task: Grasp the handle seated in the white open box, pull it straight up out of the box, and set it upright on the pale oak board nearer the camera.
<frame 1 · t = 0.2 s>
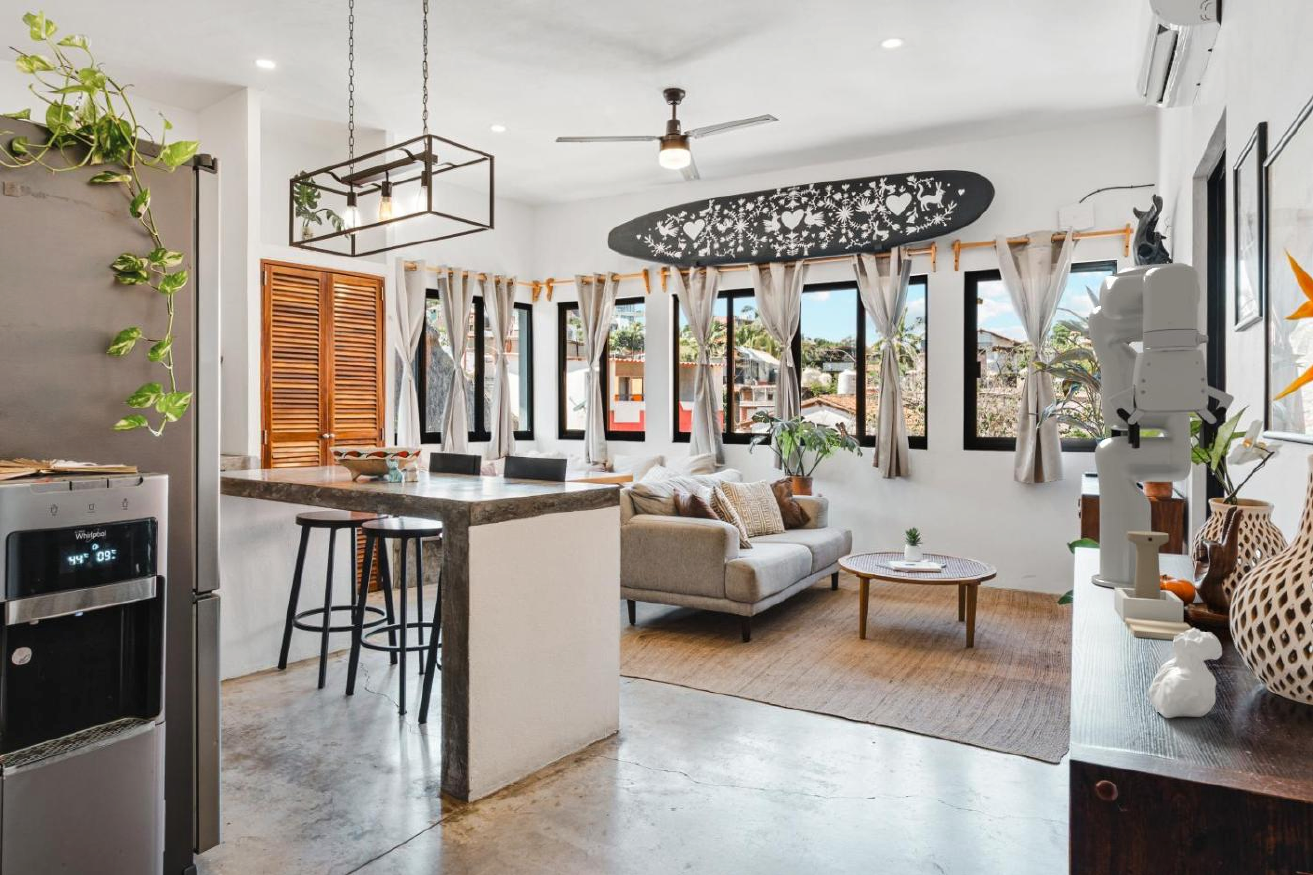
hand: (1169, 448, 132), 31 cm above the sideboard, tool pointing down, fingers open, 9 cm apart
white open box: (1147, 616, 145), on the sideboard
handle: (1147, 617, 145), resting in white open box
oak board: (1160, 632, 134), on the sideboard
white tied sack: (1184, 714, 98), on the sideboard
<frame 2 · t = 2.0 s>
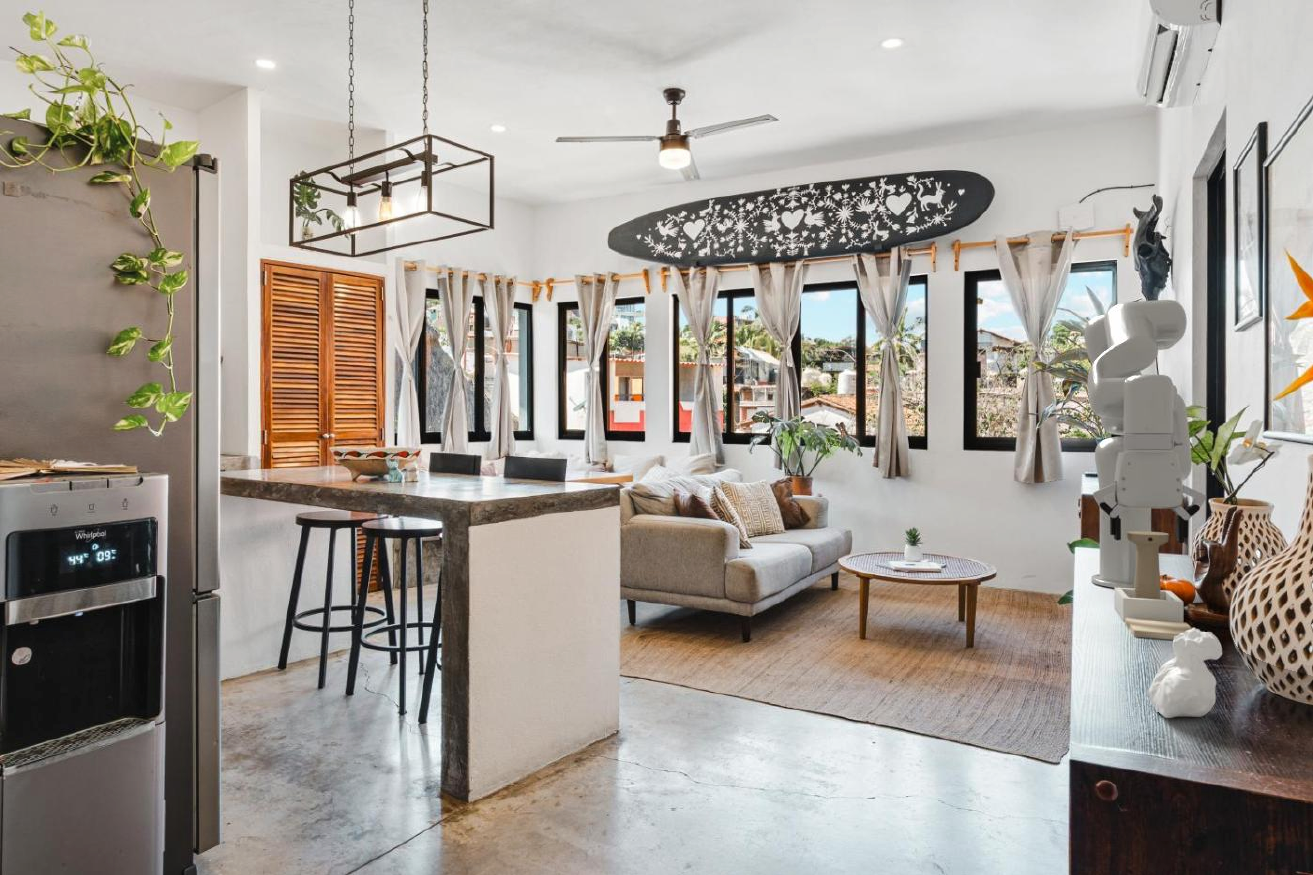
hand: (1148, 540, 144), 14 cm above the sideboard, tool pointing down, fingers open, 9 cm apart
nothing on the sideboard moved.
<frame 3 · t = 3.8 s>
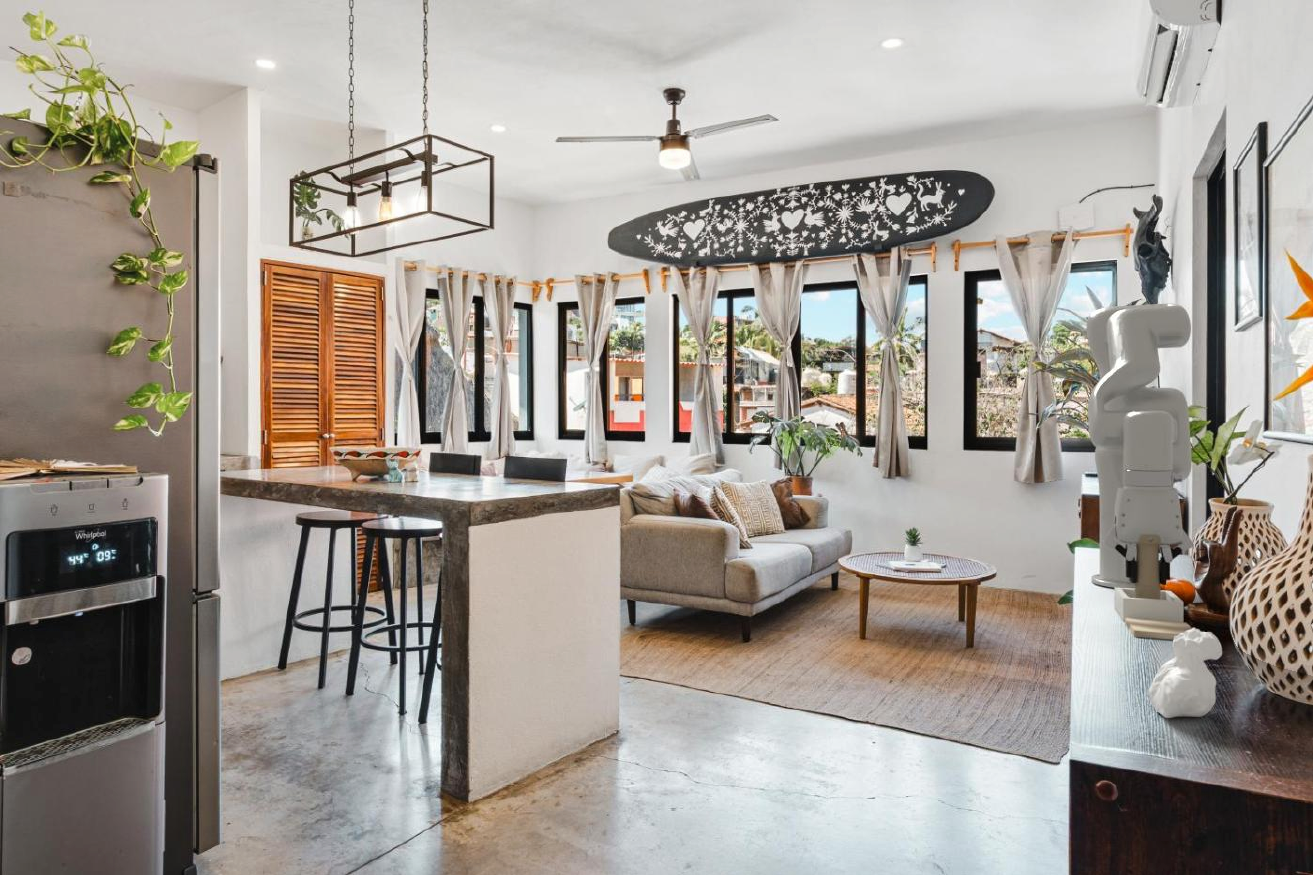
hand: (1147, 581, 145), 6 cm above the sideboard, tool pointing down, fingers closed on handle, 3 cm apart
handle: (1147, 617, 145), resting in white open box, touching gripper
everything else where it was.
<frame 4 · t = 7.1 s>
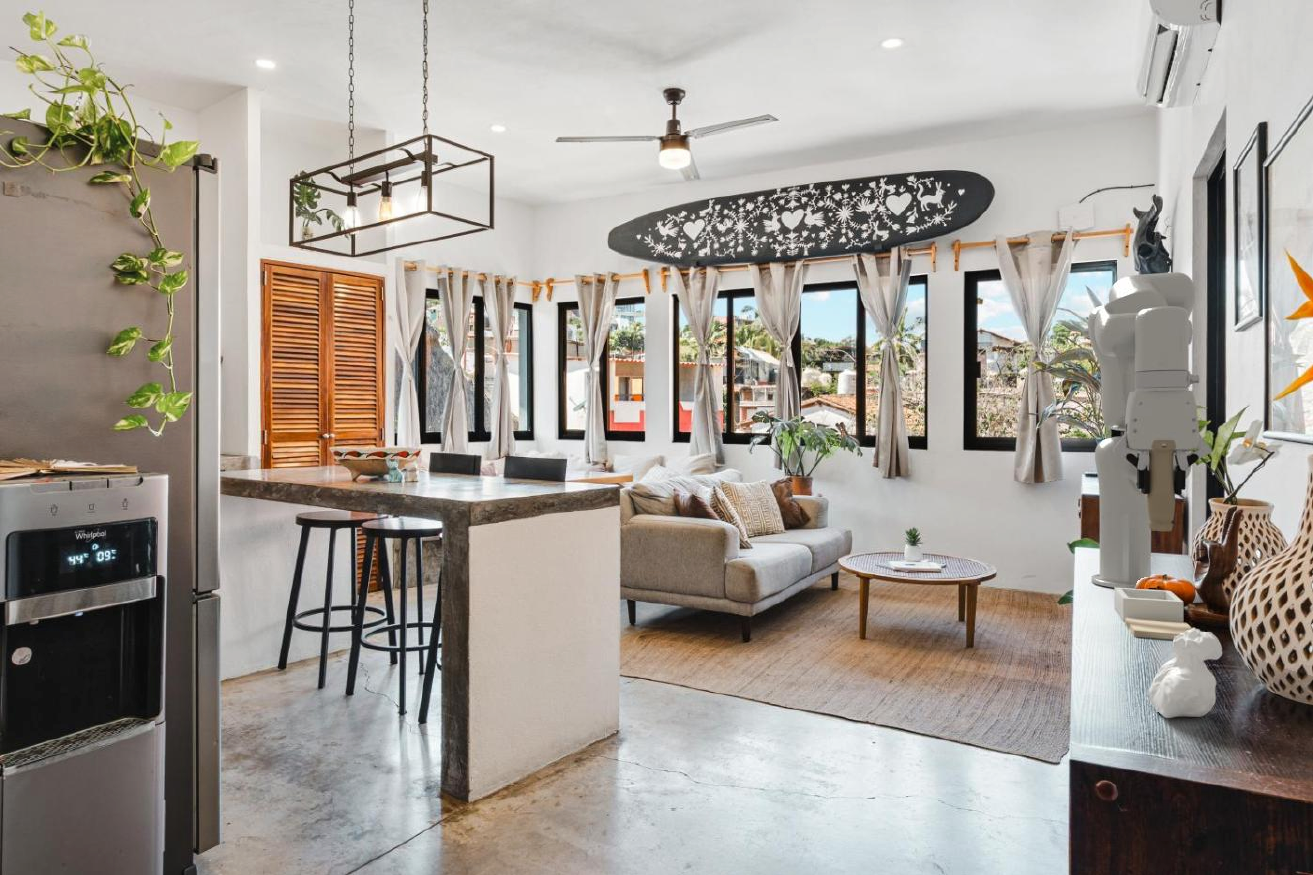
hand: (1160, 492, 134), 23 cm above the sideboard, tool pointing down, fingers closed on handle, 3 cm apart
handle: (1160, 531, 134), point 17 cm above the sideboard, touching gripper
everything else where it was.
when the fingers open (9 cm above the sideboard, at t = 10.5 s): handle drops 1 cm, resting on oak board.
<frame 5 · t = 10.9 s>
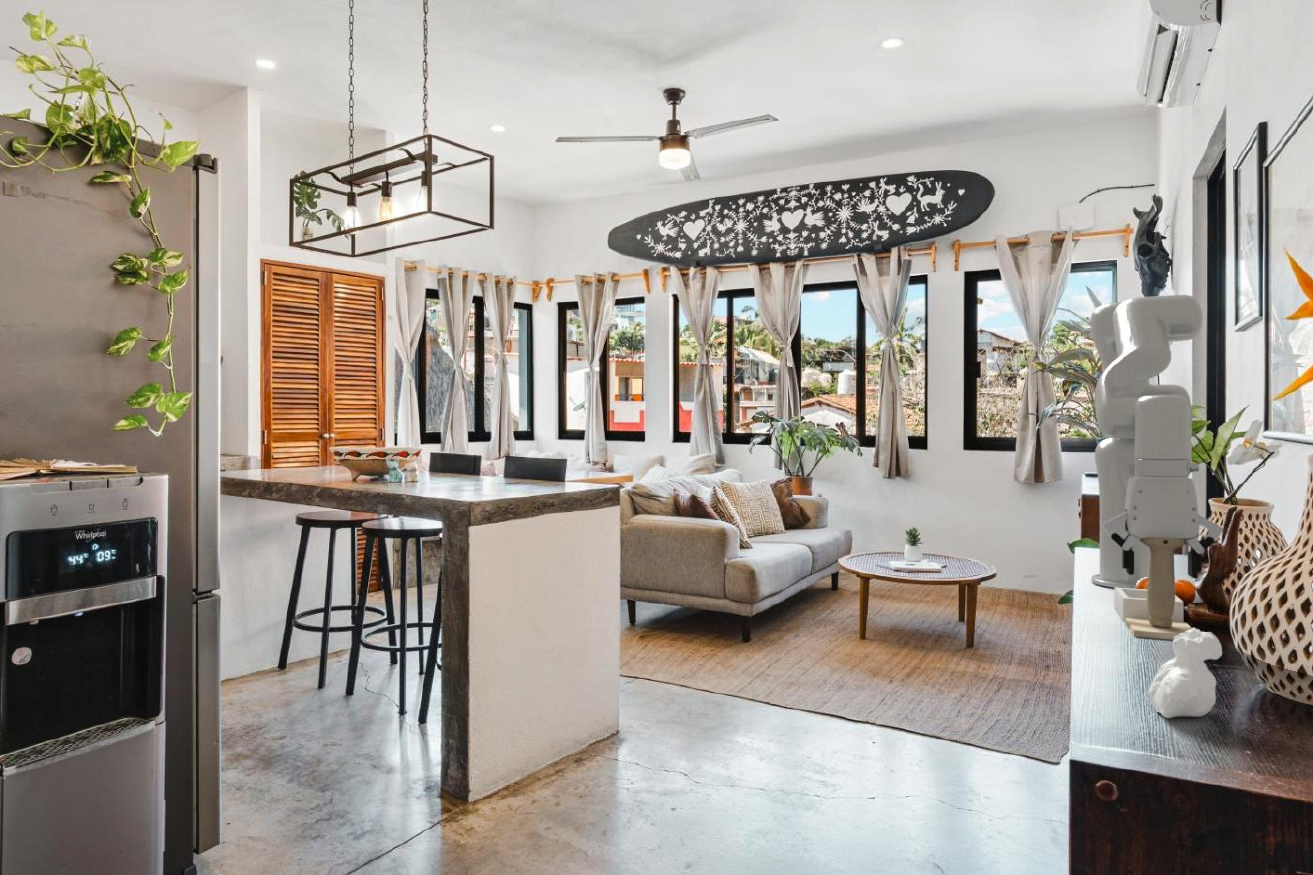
hand: (1160, 574, 134), 10 cm above the sideboard, tool pointing down, fingers open, 8 cm apart
handle: (1160, 626, 135), point 1 cm above the sideboard, touching oak board
everything else where it was.
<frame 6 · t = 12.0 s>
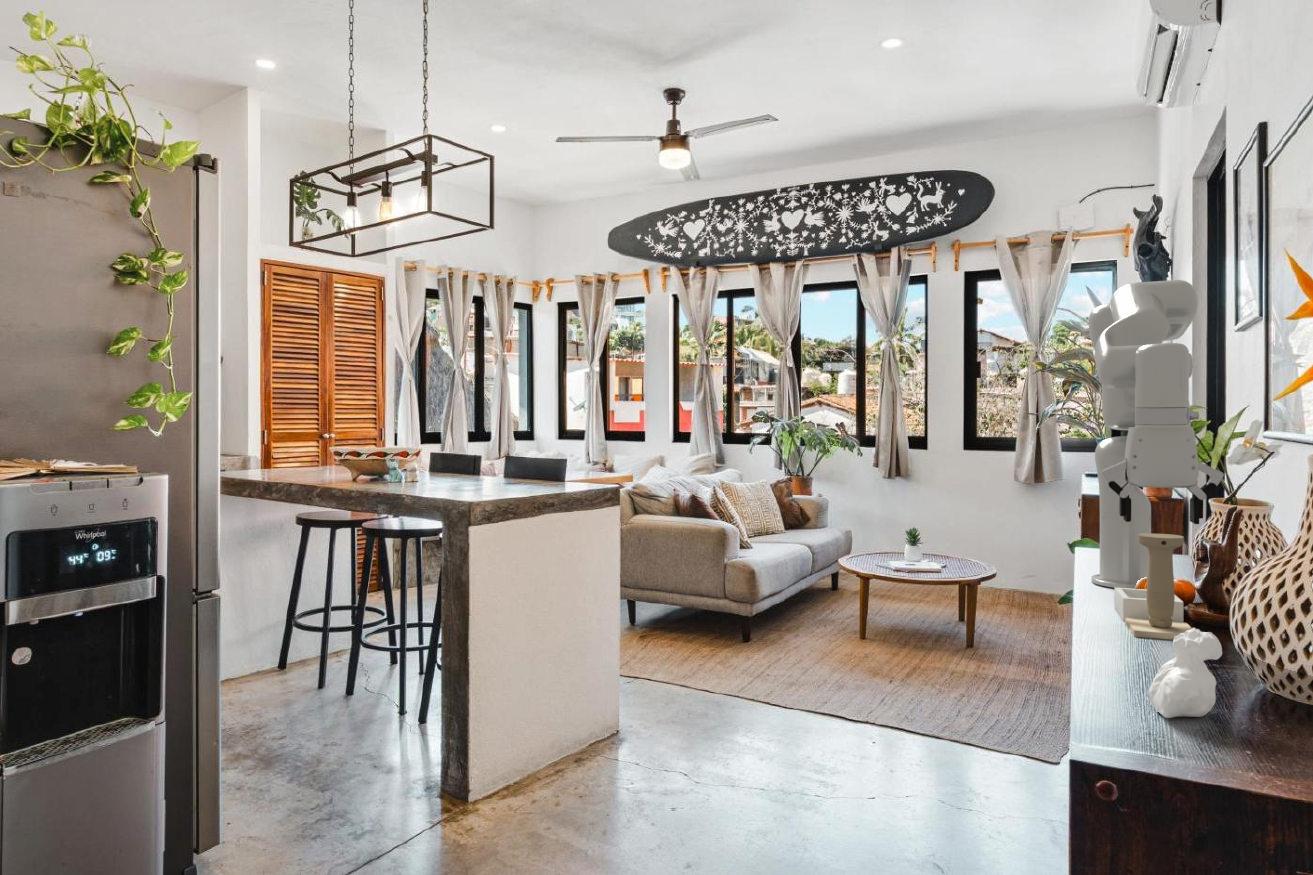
hand: (1160, 521, 135), 18 cm above the sideboard, tool pointing down, fingers open, 9 cm apart
nothing on the sideboard moved.
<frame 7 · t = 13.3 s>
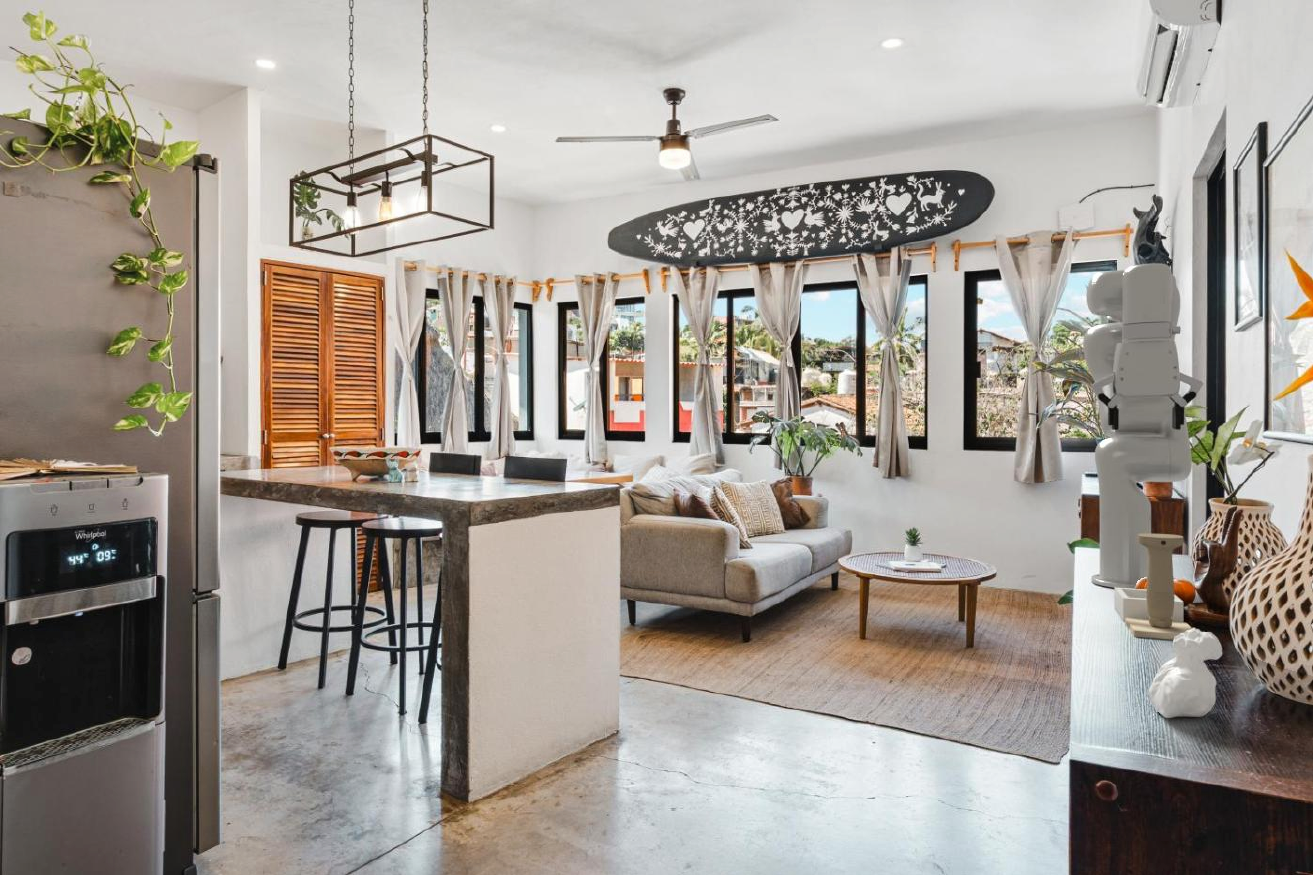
hand: (1145, 429, 147), 33 cm above the sideboard, tool pointing down, fingers open, 9 cm apart
nothing on the sideboard moved.
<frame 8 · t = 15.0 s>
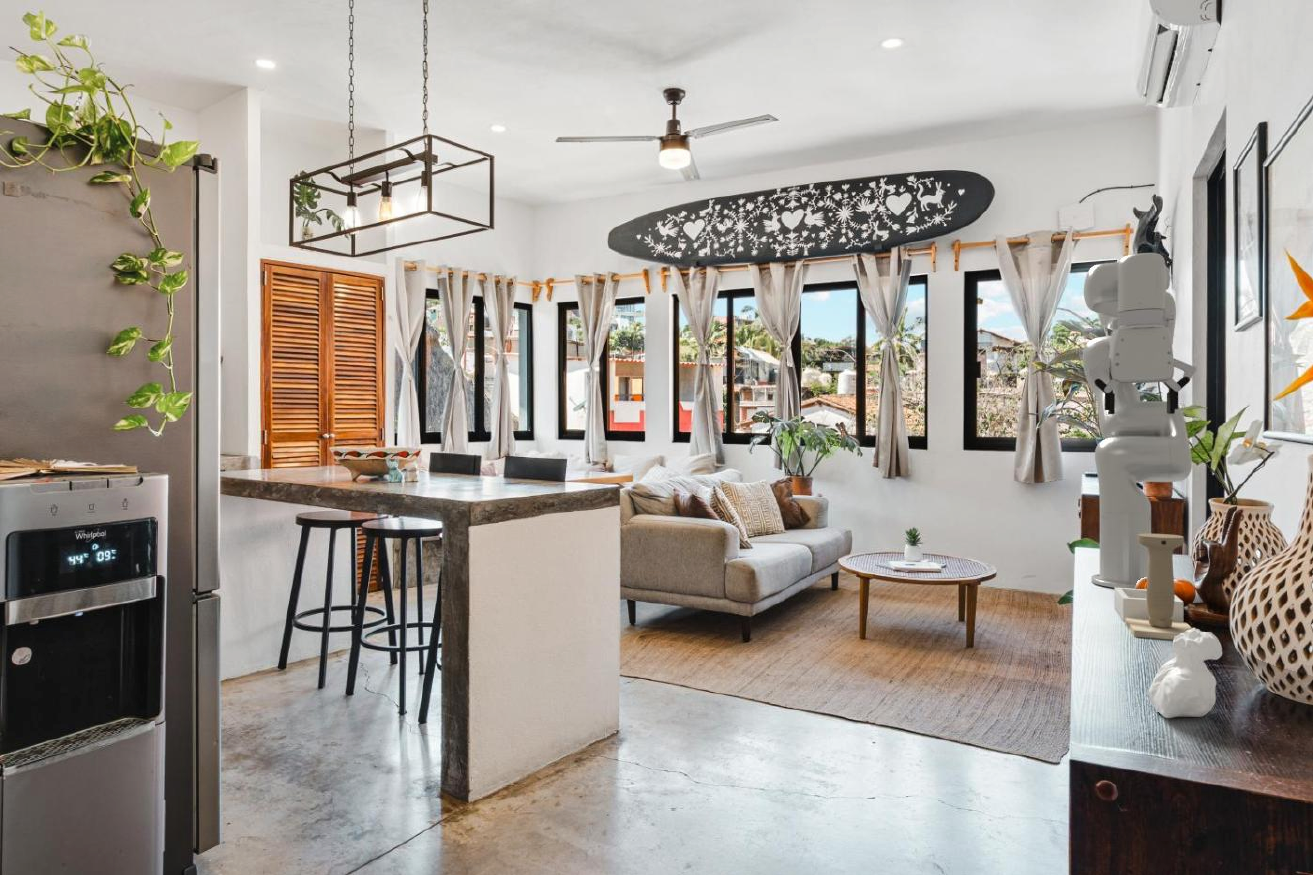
hand: (1140, 413, 151), 36 cm above the sideboard, tool pointing down, fingers open, 9 cm apart
nothing on the sideboard moved.
at the end: handle 0.2 cm off-centre on the oak board, point 0.8 cm above the oak board's base; handle tilted 0°; the gripper is holding nothing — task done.
